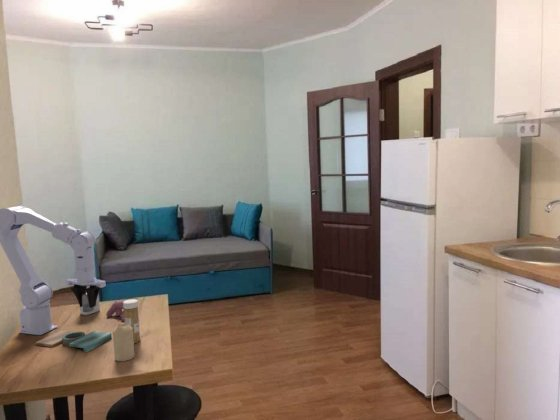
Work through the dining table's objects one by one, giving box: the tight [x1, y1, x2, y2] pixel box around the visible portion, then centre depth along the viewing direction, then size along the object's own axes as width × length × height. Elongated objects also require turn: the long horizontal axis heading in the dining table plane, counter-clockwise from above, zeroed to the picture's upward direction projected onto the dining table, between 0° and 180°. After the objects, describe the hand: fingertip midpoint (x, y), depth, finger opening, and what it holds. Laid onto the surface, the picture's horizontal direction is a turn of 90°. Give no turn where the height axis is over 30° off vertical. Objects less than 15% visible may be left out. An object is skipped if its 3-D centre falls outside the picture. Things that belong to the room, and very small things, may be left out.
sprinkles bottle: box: [123, 298, 141, 344], centre depth 147 cm, size 5×5×14 cm
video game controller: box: [106, 300, 125, 322], centre depth 172 cm, size 10×5×7 cm, turn 59°
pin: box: [81, 292, 94, 312], centre depth 158 cm, size 4×4×6 cm
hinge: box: [34, 329, 113, 353], centre depth 149 cm, size 21×11×2 cm, turn 72°
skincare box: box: [79, 286, 101, 316], centre depth 177 cm, size 6×4×12 cm
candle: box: [112, 322, 135, 362], centre depth 136 cm, size 6×6×10 cm
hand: (87, 306), depth 159 cm, fingers closed on pin, 4 cm apart
